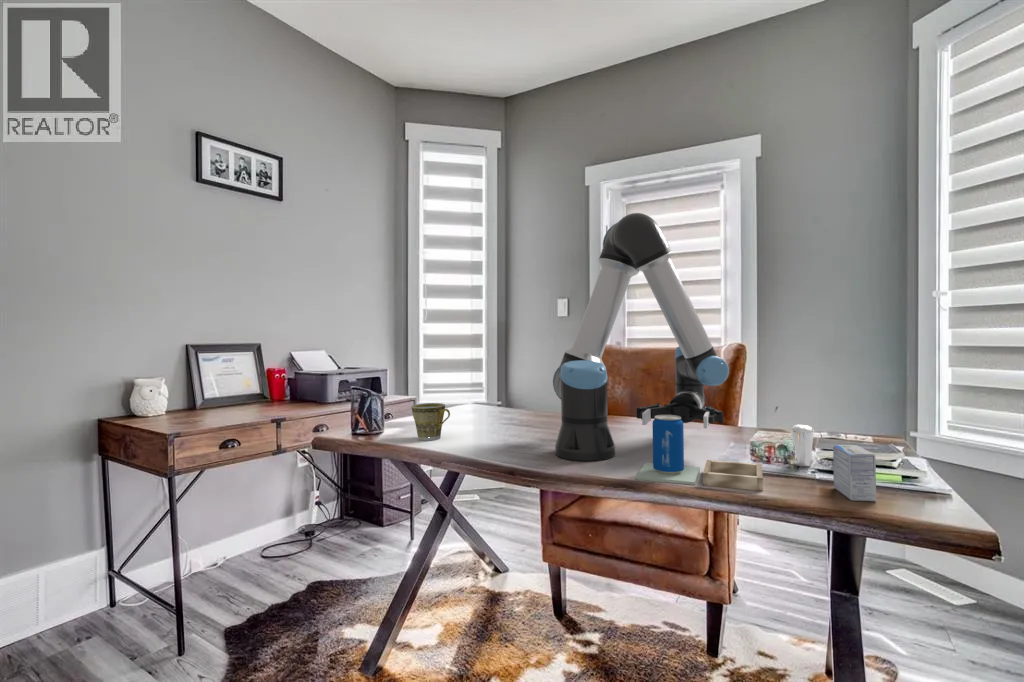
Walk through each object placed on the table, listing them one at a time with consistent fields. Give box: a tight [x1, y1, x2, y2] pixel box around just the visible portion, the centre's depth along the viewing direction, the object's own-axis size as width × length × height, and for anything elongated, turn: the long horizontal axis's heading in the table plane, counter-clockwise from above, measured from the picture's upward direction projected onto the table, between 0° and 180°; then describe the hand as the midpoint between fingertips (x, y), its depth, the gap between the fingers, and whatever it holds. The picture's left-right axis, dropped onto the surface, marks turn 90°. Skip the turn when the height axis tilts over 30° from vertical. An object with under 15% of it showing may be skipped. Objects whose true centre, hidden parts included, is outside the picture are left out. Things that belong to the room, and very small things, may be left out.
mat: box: [635, 462, 701, 486], centre depth 117 cm, size 12×12×1 cm
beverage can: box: [652, 415, 685, 475], centre depth 117 cm, size 6×6×12 cm
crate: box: [702, 459, 764, 492], centre depth 111 cm, size 11×11×2 cm
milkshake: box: [790, 422, 816, 467], centre depth 122 cm, size 5×5×10 cm
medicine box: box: [832, 444, 877, 502], centre depth 101 cm, size 8×4×9 cm, turn 168°
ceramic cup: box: [411, 402, 451, 442], centre depth 159 cm, size 13×10×10 cm
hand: (673, 420), depth 123 cm, fingers open, 13 cm apart
